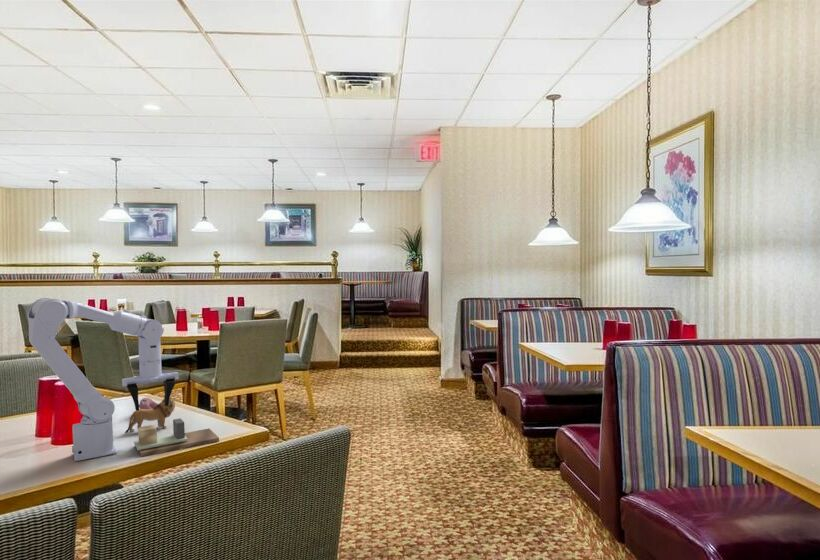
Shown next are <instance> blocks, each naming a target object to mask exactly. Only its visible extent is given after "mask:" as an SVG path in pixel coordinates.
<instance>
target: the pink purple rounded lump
mask: <svg viewBox="0 0 820 560" xmlns="http://www.w3.org/2000/svg"><path fill="white" fill-rule="evenodd" d="M139 401H140V402H139V409H153V408H154V407H156V406H157V405H158V404H159V403H158V402H155V401H154V400H153V399H152V398H150V397H149V396H148V397H143V398H142V399H140V400H139Z"/></svg>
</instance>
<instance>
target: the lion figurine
mask: <svg viewBox="0 0 820 560" xmlns="http://www.w3.org/2000/svg"><path fill="white" fill-rule="evenodd" d="M157 404H158V405H157V406H156V407H154V408H153V409H140V408H139V410H138V411H136V410H135V411H133V412H132V414H131V415H130V417H129V421H128V422H129V423H128V428H127V429H126V430H125V432H124V433H125V434H127V433H129V432H134V431H135V429H134V428H133V427H134V426H135V425H136V424H137V426H136V427H137V429H138V427H142V425H143V423H144V422H143V421H144V420H145V421H147V422H150V421H152V422H153V421H157V427H158V428H161V429H163V430H164V429H167V426H165V423H166V419H167V418H169V417H170V416H171V415H172V413H173V412H174V410H175V407H176V402H175V398H173V397H172V396H170V399H169V404H168V406H165V404H164V398H163V399H162V400H161V401H160V402H159V403H157Z"/></svg>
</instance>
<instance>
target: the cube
mask: <svg viewBox="0 0 820 560" xmlns="http://www.w3.org/2000/svg"><path fill="white" fill-rule="evenodd" d="M157 430H158V428H157V427H156V425H155V424H152V425H150V424H149V425H144V426H141V427H138V428H137V433H138V440H139V443H140V445H141V446H142V445H148V444H153V443H157V437H158V432H157Z"/></svg>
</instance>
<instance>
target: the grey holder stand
mask: <svg viewBox="0 0 820 560" xmlns="http://www.w3.org/2000/svg"><path fill="white" fill-rule="evenodd" d="M172 426H173V427H172V429H173V433H172V434H170V433H169V434H165V435H161V436H160V435H159V436H157V443H153V444H148V445H142V446H141V445H140V443H139V439H137V440H134V441H133V445H134V446H135V448H136V449H137V451H138V450H142V449H147V448H152V447H157V446H162V445H168V444H173V443H178V442H183V441H188V438H187V437H186V436H185V433H186V432H185V431H186V430H185V428H186V427H185V421H184V420H183V419H182V418H181V417H180V418H175V419H174V418H173V419H172Z"/></svg>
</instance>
